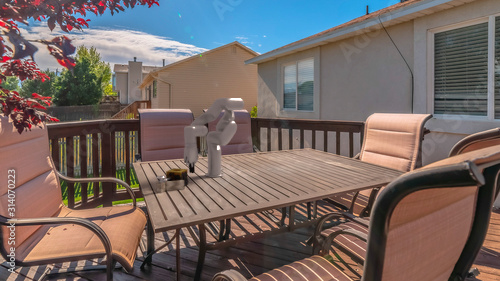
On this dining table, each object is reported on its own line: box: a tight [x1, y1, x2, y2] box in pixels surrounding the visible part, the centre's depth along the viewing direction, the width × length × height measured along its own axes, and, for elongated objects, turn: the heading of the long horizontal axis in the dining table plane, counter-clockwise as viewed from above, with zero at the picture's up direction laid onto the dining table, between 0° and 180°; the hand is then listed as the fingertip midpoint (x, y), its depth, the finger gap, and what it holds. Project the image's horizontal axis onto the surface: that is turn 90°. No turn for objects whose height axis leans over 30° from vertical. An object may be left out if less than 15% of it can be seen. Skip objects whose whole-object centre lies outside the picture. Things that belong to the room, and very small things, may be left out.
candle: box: [165, 168, 189, 188], centre depth 176 cm, size 10×10×10 cm
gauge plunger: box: [156, 175, 172, 183], centre depth 166 cm, size 11×4×4 cm, turn 156°
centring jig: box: [156, 177, 185, 194], centre depth 168 cm, size 13×16×5 cm
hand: (192, 172), depth 190 cm, fingers closed
